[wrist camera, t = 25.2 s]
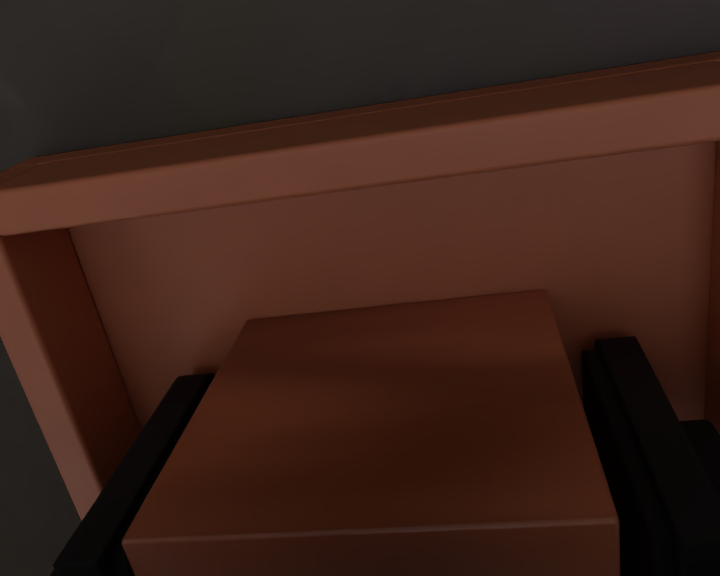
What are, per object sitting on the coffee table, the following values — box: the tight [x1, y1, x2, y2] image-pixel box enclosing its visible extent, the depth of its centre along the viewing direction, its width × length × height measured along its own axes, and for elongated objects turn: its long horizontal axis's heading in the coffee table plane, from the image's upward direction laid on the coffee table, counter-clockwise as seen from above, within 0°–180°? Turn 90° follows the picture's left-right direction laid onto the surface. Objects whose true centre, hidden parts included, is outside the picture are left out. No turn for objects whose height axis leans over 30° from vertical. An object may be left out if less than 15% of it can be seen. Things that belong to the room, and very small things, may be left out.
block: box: [122, 290, 620, 576], centre depth 9 cm, size 4×4×4 cm
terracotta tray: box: [0, 51, 720, 521], centre depth 10 cm, size 10×10×2 cm
